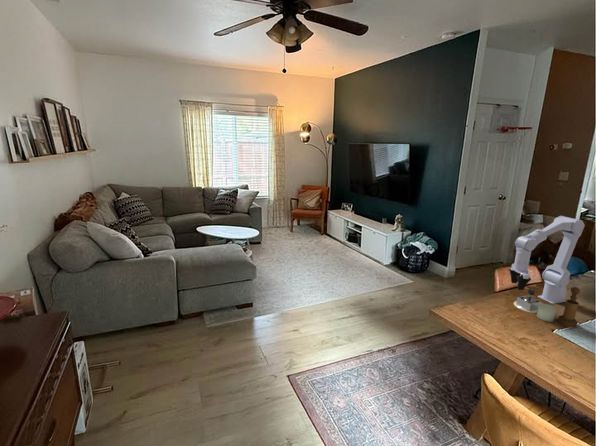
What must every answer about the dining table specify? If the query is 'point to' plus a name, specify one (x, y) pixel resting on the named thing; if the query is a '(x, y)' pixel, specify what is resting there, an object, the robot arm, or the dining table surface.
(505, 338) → the dining table surface
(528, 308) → the grey faceted box
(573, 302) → the mortar and pestle
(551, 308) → the pale green rounded block
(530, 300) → the plunger
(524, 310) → the trivet
